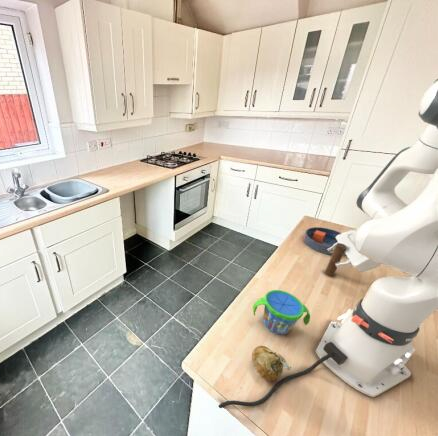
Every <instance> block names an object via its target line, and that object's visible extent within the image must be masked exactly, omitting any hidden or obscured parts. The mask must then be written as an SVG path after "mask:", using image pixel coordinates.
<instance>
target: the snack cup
mask: <svg viewBox="0 0 438 436" xmlns="http://www.w3.org/2000/svg"><path fill="white" fill-rule="evenodd" d="M262 305H263V306H264V308H263V309H264V310H263V320H262V321H263V324H264V326H265V327H266V328H267V329H268V330H269V331H270V333H274V334H276V335H287V334H288V333H289V332H290V331H291V330H292V328H293V327H294V326H295V325H296V323H297V322H298V320H300V319H301V318H302V317H303V318H302V319H303V320H302V322H303V324H304V325H305V326H308V325H309V323H310V320H311V313H310V311H309V308H307V306H306V305H304V304H303V303H302V301H301V300H300V299H299V298H298V297H296V296H295V295H293V294H292V293H291V292H287V291H285V290H280V289H273V290H269V291H267V293H266V294H265V295H264V297H260V298H258V299H257V300H256V301H255V302H254V303H253V305H252V313H253V316H256V311H257V309H258V307H259V306H262ZM304 313H306V314H305V315H304Z"/></svg>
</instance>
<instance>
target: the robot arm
mask: <svg viewBox="0 0 438 436" xmlns="http://www.w3.org/2000/svg"><path fill="white" fill-rule="evenodd" d="M418 107H419V108H418V117H419V118H420V119H421V120H422V121H423V122H424V123H426V124H427V126H426V127H425V128H424V130H423V131H422V133H421V134H420V136H419V137H418V138H417V140H416V141H415V143H413V144H412V145H411V146H407V147H405V148H403V149H401V150H399V152H397V153H396V154H395V155H394V156H393V157H392V158H391V160H389V161H388V163H387V164H386V165H385V167H384V168H383V169H382V170H381V171H380V173H379V174H378V175H377V176H376V177H375V179H374V180H373V181H372V183H370V185H369V186H367V187H366V188H365V189H363V191H362V192H361V193H359V195H358V196H357V199H356V202H355V203H356V207H357V208H358V209H359V210H360V211H362V212H363V213H364V214H365V215H366V216H367V217H368V218H369V220H367V221H366V222H363V223H362V224H361V225H360V226H359V227H358V228H356V229H350V230H347V231H344V232H340V233H341V234H339V235H337V236H336V237H335V238H336V240H337V241H338V242H337V243H341V244H344V245H346V249H345V251H344V252H345V254H346V255H345V256H346V258H347V260H346V261H343V262H341V260H340V261H339V262H337V263H335V265H336V267H337V269H339V270H340V269H343V268H352V267H353V268H354V269H355V270H356V271H357V272H358V273H366V272H368V271H371V270H373V269H376V268H378V267H381V265H382V266H386V267H388V268H392V269H393V270H396V271H400V272H403V273H405V274H408V275H409V276H395V275H394V276H392V275H390V276H389V275H388V276H383V277H381V278H378V279H376V280H374V281H373V282H372V283H371V285H370V287H369V288H368V290H367V291H366V294H365V295H364V297H363V298H361V299H360V300H359V302H358V303H357V304H356V305H355V307H354V308H348V309H347V311H346V313H344V314H342V315H340V316H338V317H337V320H338V321H335V320H332V321H331V322H330V323H329V324H328V326H327V328H326V330H325V332H324V334H323V335H322V337H321V340H320V341H319V343H318V345H317V347H316V349H315V354H316V355H317V357H318V358H319V359H318V360H316V361H315V362H314V363H313V364H312V365H311V366H309V367H308V368H306V369H304V370H301V371H299V372H297V373H293V374H289V375H288V376H285V377H283V378H281V379H280V380H278V381H277V382H276V383H275V384H274V385H273V387H272V388H270V390H269V391H268V392H267V393H266V395H264V396H263V397H262V398H260V399H258V400H256V401H241V400H226V401H223V402H221V403H219V404H218V408H219V409H223V408H224V407H228V406H242V407H257V406H260V405H262V404H263V403H266V401H268V400H269V399H270V398H271V397H272V396H273V394H274V393H275V392H276V391H277V389H278V388H279V387H280V386H282V385H283V384H285V383H286V382H288V381H290V380H293V379H296V378H299V377H303V376H305V375H306V374H307V375H308V374H309V373H310V372H312V371H313V370H315V369H316V368H317V367H318V366H319V365H320V364H322V363H323V364H324V365H325V366H326V367H327V368H328V369H329V370H330V371H331V372H332V373H333V374H334V375H336V376H337V377H338V378H339V379H341V380H342V381H343V382H345V383H346V384H347V385H348V386H350V387H352V388H353V389H354V390H356V391H358V392H360V393H362V394H364V395H366V396H369V397H370V398H376V397H377V396H380V395H381V394H383V393H384V392H386V391H388V390H390V389H392V388H393V387H395V386H396V385H399V384H400V383H402V382H403V381H405V380H407V379H409V378H410V376H411V375H412V373H411V371H410V369H409V368H408V367H407V366H406V364H408V362H409V361H411V359H410V358H411V357H412V355H413V354H414V353H415V351H416V348H415V346H414V344H413V340H414V339H415V338H416V337H417V336H418V334H419V332H420V327H421V325H422V324H423V323H424V322H425V321H426V320H427V319H428V318H429V317H430V316H431V315H433V313H434V312H435V311H437V310H438V78H437V79H436V80H435V81H433V83H432V84H431V85H430V86H429V87H428V88H427V89H426V91H425V92H424V93H423V95H422V97H421V99H420V101H419V106H418ZM410 172H412V173H417V174H423V175H432V176H431V178H430V180H428V183H427V184H426V186H425V187H424V188H423V190H422V191H421V193H420V194H418V196H417V197H416V198H415V199H414V200H413V201H412V202H410V204H407V203H405V201H404V200H402V199H401V198H400V197H399V196H398V195H397V194H396V190H395V189H396V187H397V186H398V185H399V184H400V183H401V182H402V181H403V180H404V179H405V177H407V175H408V174H409V173H410ZM337 243H335V244H334V245H333V246H332V247H331V248H328V249H327V250H328V252H329V253H330V254H332V253H333V252H334V249H335V247H336V245H337ZM341 319H342V320H341ZM339 320H341V322H339Z"/></svg>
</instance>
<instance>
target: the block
mask: <svg viewBox="0 0 438 436" xmlns="http://www.w3.org/2000/svg"><path fill="white" fill-rule="evenodd" d="M325 234H326V233H324V232H321V231H318V230H316V231H315V233H314V235H313V238H312V240H314V241H316V242H319V243H322V241H323V239H324V237H325Z"/></svg>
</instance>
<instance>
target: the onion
mask: <svg viewBox="0 0 438 436" xmlns="http://www.w3.org/2000/svg"><path fill="white" fill-rule="evenodd" d="M251 361H252V364H253V366H254V368H255V370H256V372H257V373H258V374H259V376H260V377H261V378H262V379H264V380H266V381H277V380H278V379H280V377H281V376H282V374H283V372H284V368H285V370H286V371H290V370H291V369H292V366H291V365H290V364H289V363H288V362H287V361H286V360H285V358H284V357H283V356H282V354H281V355H280V354H278V353H277V352H275V351H273V350H271V348H269V347H268V346H265V345H258V346H256V347H255V348H254V349H253V351H252V354H251Z"/></svg>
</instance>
